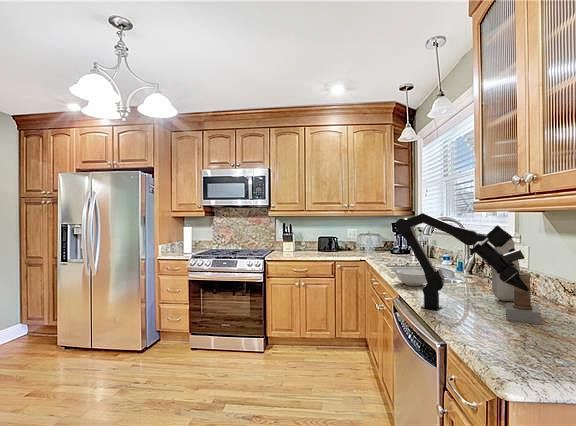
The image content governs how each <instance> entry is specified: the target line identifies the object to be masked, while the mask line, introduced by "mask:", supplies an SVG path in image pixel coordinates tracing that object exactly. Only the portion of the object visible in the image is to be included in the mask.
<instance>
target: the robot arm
mask: <svg viewBox="0 0 576 426" xmlns="http://www.w3.org/2000/svg"><path fill="white" fill-rule="evenodd" d="M421 224H425V225H427V226H429V227H432V228H435V230H436V229H437V230H439V231H440V232H444V233H446V234H448V235H451V236H452V237H454V238H455V239H456V240H458V241H460V242H462V243H463V244H464V245H466V246H471V247H469V249H468V250H469V255H470V256H473V255H474V254H476V255H477V256H479V258H481V259H482V260H483V261H484V263H486V264H487V266H489V267H490V268H491V267H492V268H493V269H494V270H495V271H496V273H498V274H499V278H500V279H501V280H502V281H503V282H505V283H507V284H510V285H512V286H515V287H517V288H520V289H522V290H524V291H529V288H528V287H527V286H526V285H525V283H524V282H523V281H522V280H521V278H520V277H519V270H518V269H517V268H516V265H515V264H514V263H513V261H516V260H518V261H519V260H524V259H525V256H524V253H523V252H522V250H521V249H520V248H517V249H516V248H515V249H514V248H511V249H509V253H506V254H504V255H503V254H502V253H499V252H498V251H496V250H495V249H494V247H493V246H495V247H498V246H499V247H502V246H503V245H505V244H506V243H507V242H508V241H510V240H511V239H514V237H513V236H512V235H511V234H510V233H509V232H507V231H506V230H505V229H503V228H502V227H501V226H499V225H498V224H496V225H495V226H494V227H493V228H492V229H491V230H490V231H489V232H488V233H487V234H484V233H477V231H475V230H473V229H469V228H466V227H465V228H464V227H460V226H455V225H453V224H451V223H448V222H446V221H443V220H442V219H439V218H436V217H434V216H432V215H430V214H428V213H425V212H424V213H423V212H422V213H419V214H417V215H415V216H412V217H408V218H407V217H405V218H399V219H397V220H396V221H395V225H394V227H395V229H396V231H398V234H400V235H401V236H402V237H403V239H405V240H406V242H407V243H408V246H409V247H410V249H411V252H413V254H414V256H415V257H416V260H417V261H418V263H419V265H420V267H421V268H422V271H424V274H425V278H426V281H427V283H425V284H424V286H423V287H422V289H421V291H422V293H423V305H421V306H420V308H421V309H426V310H432V311H438V310H440V309H442V308H443V305H440V293H439V291H440V290H442V289H443V287H444V286H445V282H446V281H445V278H446V277H445V275H444V274H443V273H442V270H441V268H438V269H436V267H435V266H434V265H433V264H432V262H431V260H430V258H429V257H428V255H427V253H426V251H425V249H424V248H423V246H422V244H421V242H420V240H419V239H418V237H417V236H416V231H415V228H414V227H416V226H418V225H421ZM479 242H482V243H479ZM489 243H490V244H489ZM472 246H473V247H472ZM514 265H515V266H514Z"/></svg>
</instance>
